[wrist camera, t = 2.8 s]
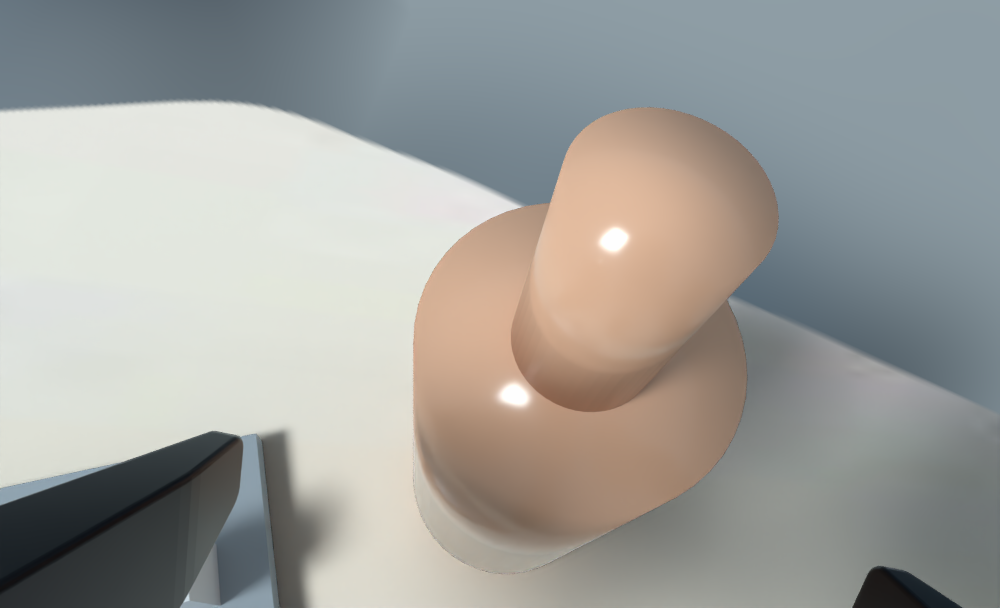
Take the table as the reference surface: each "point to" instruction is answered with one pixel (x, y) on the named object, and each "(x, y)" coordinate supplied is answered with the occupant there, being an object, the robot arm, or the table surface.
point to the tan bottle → (588, 343)
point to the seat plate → (220, 540)
